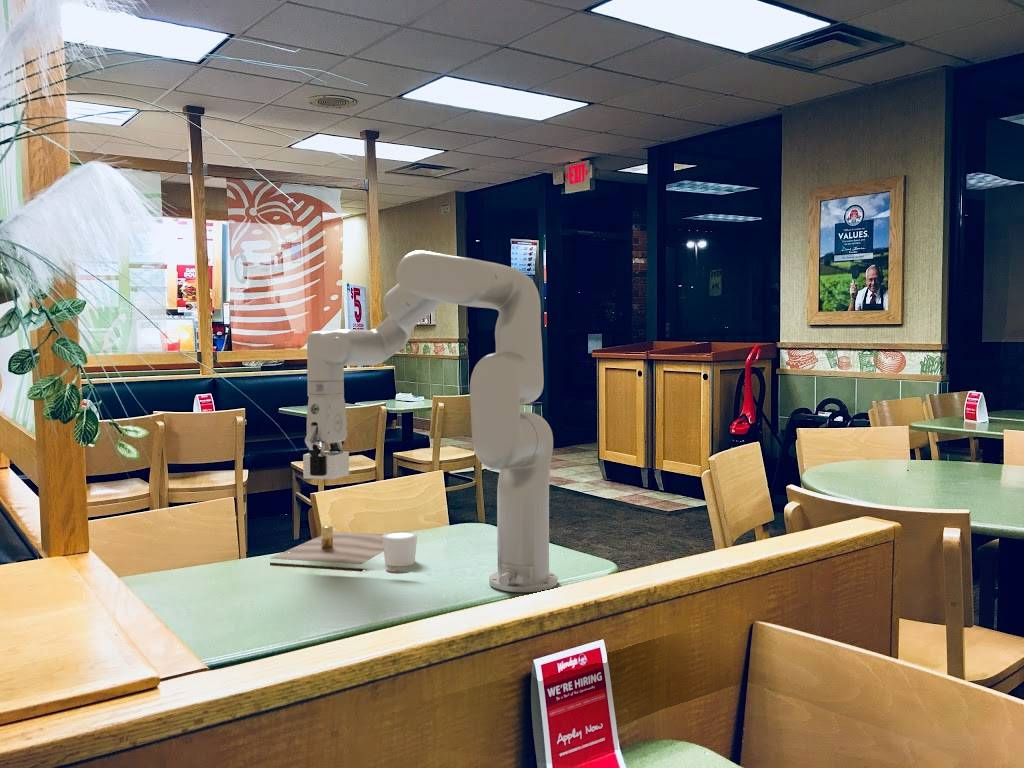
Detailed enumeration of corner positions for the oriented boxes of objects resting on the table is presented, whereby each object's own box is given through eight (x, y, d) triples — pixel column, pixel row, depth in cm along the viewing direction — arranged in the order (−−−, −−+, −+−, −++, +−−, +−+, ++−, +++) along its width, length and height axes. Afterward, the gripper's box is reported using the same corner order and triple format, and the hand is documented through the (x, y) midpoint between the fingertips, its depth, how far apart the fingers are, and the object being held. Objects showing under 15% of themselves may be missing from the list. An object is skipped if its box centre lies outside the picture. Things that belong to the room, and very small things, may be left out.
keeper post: (329, 549, 167) (329, 528, 167) (319, 548, 168) (319, 527, 168) (334, 546, 170) (334, 525, 170) (324, 546, 170) (324, 525, 170)
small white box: (333, 479, 164) (333, 455, 164) (303, 478, 166) (303, 454, 166) (348, 474, 171) (348, 451, 171) (319, 473, 173) (319, 451, 173)
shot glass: (421, 565, 159) (420, 531, 159) (413, 574, 152) (413, 538, 152) (387, 565, 160) (387, 530, 160) (378, 574, 153) (378, 538, 153)
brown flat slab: (360, 571, 155) (360, 563, 155) (269, 565, 160) (269, 558, 160) (410, 542, 180) (410, 535, 180) (330, 537, 185) (330, 531, 185)
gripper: (322, 391, 159) (322, 479, 159) (359, 388, 175) (360, 468, 176) (288, 390, 160) (289, 478, 161) (329, 388, 177) (329, 467, 178)
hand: (326, 472), depth 168 cm, fingers closed on small white box, 7 cm apart
